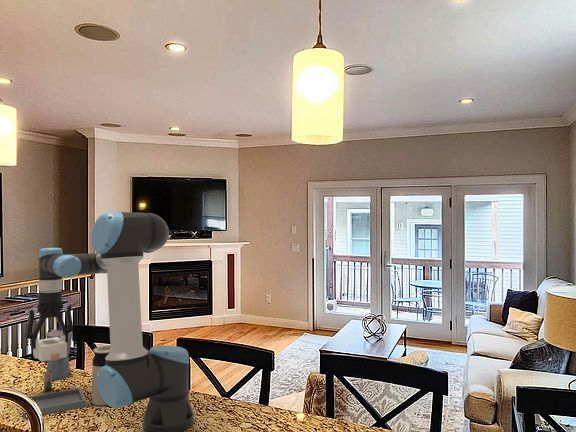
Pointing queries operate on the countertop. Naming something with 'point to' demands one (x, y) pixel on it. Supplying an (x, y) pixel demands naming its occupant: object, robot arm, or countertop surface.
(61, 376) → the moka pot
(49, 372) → the stake
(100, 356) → the travel mug
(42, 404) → the tray
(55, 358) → the white boxy piece
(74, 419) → the countertop surface
